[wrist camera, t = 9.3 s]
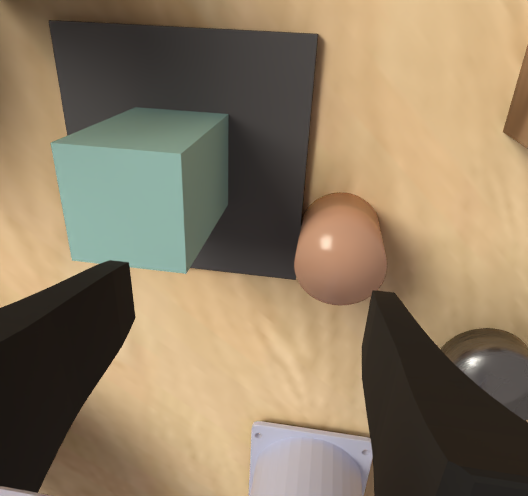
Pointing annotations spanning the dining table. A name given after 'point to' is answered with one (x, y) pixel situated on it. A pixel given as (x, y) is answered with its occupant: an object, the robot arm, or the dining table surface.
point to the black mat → (211, 101)
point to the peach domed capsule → (340, 250)
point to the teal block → (144, 187)
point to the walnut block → (519, 108)
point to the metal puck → (494, 365)
